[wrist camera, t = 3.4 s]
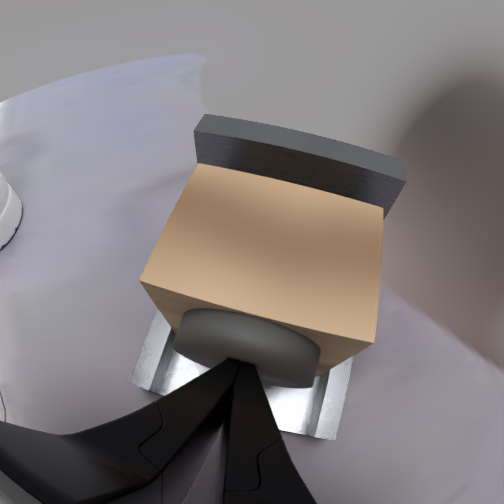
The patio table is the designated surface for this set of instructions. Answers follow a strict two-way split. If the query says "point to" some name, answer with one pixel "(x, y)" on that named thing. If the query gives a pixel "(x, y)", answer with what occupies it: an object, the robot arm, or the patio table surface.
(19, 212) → the water bottle
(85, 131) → the patio table surface
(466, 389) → the patio table surface
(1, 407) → the white cup
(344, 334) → the tan box
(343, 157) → the grey open holder
